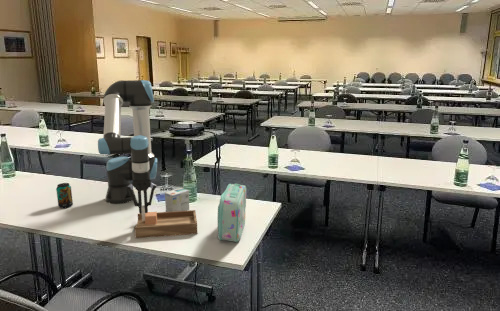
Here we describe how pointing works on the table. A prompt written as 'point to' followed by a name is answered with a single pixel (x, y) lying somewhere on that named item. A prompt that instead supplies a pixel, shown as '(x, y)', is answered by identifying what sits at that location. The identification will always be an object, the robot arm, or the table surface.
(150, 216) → the block
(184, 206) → the light bulb box
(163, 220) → the box
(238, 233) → the lunch box
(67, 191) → the beverage can
